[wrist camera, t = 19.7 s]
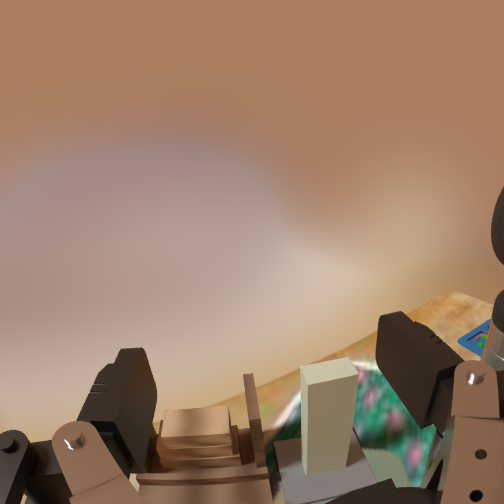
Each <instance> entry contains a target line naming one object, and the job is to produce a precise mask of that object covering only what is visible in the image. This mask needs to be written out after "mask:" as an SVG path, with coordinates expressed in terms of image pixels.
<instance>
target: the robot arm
mask: <svg viewBox="0 0 504 504" xmlns="http://www.w3.org/2000/svg"><path fill="white" fill-rule="evenodd" d="M491 238H492V239H491V240H492V245H493V249H494V252H495V254H496V256H497V258H498V259H499V261H500V262H501V263H502V264H503V265H504V187H503V189H502V191H501V193H500V195H499V197H498V200H497V202H496V205H495V209H494V213H493V218H492V225H491ZM376 362H377V365H378V368H379V369H380V371H381V372H382V374H383V375H384V377H385V378H386V379H387V381H388V382H389V384H390V385H391V387H392V388H393V389H394V391H395V392H396V394H397V395H398V397H399V398H400V399H401V401H402V402H403V404H404V405H405V407H406V408H407V410H408V411H409V412H410V414H411V415H412V417H413V418H414V420H415V421H416V423H417V424H418V426H419V427H420V429H422V428H424V427H427V426H429V425H432V424H434V426H435V427H436V429H435V431H434V434H433V439H432V444H431V449H430V453H429V458H428V462H427V466H426V470H425V474H424V477H423V480H422V483H421V485H420V488H419V487H399V488H396V487H395V485H394V483H393V481H392V479H391V478H390V479H387V480H385V481H382V482H378V483H375V484H372V485H369V486H366V487H362V488H359V489H356V490H352V491H350V492H348V493H346V494H344V495H342V496H340V497H338V498H336V499H334V500H332V501H330V502H328V503H326V504H504V290H503V291H501V293H500V294H498V296H497V298H496V300H495V303H494V308H493V312H492V317H491V321H490V326H489V330H488V334H487V338H486V342H485V346H484V349H483V353H482V356H481V360H480V361H476V360H470V361H464V360H463V359H462V358H461V357H460V356H459V355H458V354H457V353H456V352H455V351H453V350H452V349H451V348H450V347H449V346H448V345H447V344H446V343H445V342H443V340H442V339H440V338H439V337H438V336H436V334H435V333H434V332H433V331H432V330H431V329H429V328H428V327H427V326H425V325H422V324H420V323H418V322H416V321H415V322H413V321H412V320H411V319H410V318H409V317H408V316H406V315H405V314H404V313H403V312H402V311H398V312H394V313H390V314H385V315H382V316H380V318H379V322H378V333H377V343H376ZM156 403H157V389H156V384H155V381H154V378H153V375H152V372H151V369H150V365H149V362H148V359H147V356H146V353H145V351H144V349H143V348H129V349H128V348H127V349H121V350H120V351H119V353H118V356H117V358H116V360H115V362H114V364H108V365H106V366H105V367H104V368H103V369H102V370H101V371H100V372H99V373H98V375H97V377H96V379H95V382H94V385H93V386H92V388H91V390H90V393H89V394H88V397H87V399H86V401H85V403H84V405H83V407H82V410H81V412H80V414H79V416H78V418H77V420H76V421H74V422H70V423H67V424H65V425H63V426H62V427H60V428H59V429H58V430H57V431H56V432H55V434H54V436H53V438H52V440H48V441H41V442H33V443H30V441H29V440H28V438H27V437H26V435H25V434H24V433H22V432H21V431H17V430H10V431H6V432H3V433H2V434H0V504H20V503H21V500H22V497H23V494H25V495H26V496H27V498H26V501H25V504H146V503H145V502H144V500H143V499H142V498H141V496H140V495H139V494H138V492H137V491H136V490H135V488H134V487H133V485H132V484H131V483H130V481H129V478H130V473H135V474H143V470H144V465H145V459H146V453H147V448H148V443H149V438H150V432H151V427H152V422H153V417H154V412H155V408H156Z"/></svg>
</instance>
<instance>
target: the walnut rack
mask: <svg viewBox="0 0 504 504" xmlns="http://www.w3.org/2000/svg"><path fill="white" fill-rule="evenodd" d="M243 377H244V385H245V394H246V402H247V410H248V417H249V424H250V428H246V429H238V433H239V440H240V450H241V461H242V466H236V467H225V468H211V469H190V470H164V468H163V466H162V465H161V463H160V461H159V460H160V456H159V454H158V452H157V450H156V446H157V440H158V434H156V431H155V429H154V427H153V424H152V427H151V432H150V438H149V443H148V448H147V453H146V459H145V465H144V470H143V474H137V475H136V480H137V481H138V483H139V484H140V487H139V493H138V494H139V495H140V496H141V498H142V499H143V500H144V502H145V503H146V504H273V499H272V494H271V489H270V483H269V477H268V470H267V464H266V457H265V449H264V441H263V434H262V426H261V418H260V412H259V406H258V400H257V395H256V389H255V383H254V377H253V373H252V374H244V375H243Z"/></svg>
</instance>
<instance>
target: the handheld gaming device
mask: <svg viewBox="0 0 504 504" xmlns="http://www.w3.org/2000/svg"><path fill="white" fill-rule="evenodd" d="M490 321H491V319H490V320H487V321H486V322H484V323H483V324H481V325H480V326H478V327H477V328H475V329H474V330H472V331H471V332H469V333H467V334H466V335H464V336H463V337H461V338H459V339H458V341H457V342H458V343H459V344H460V345H462V346H464V347H466V348H467V349H469V350H471V351H472V352H474V353H476V354H477V355H479V356H482V353H483V349H484V346H485V342H486V338H487V334H488V330H489V326H490Z"/></svg>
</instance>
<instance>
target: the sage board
mask: <svg viewBox="0 0 504 504" xmlns="http://www.w3.org/2000/svg"><path fill="white" fill-rule="evenodd" d="M300 375H301V460H302V464H303V467H304V471H305V474H306V477H308V476H313V475H318V474H322V473H326V472H330V471H335V470H338V469H342V468H345V467H346V462H347V457H348V451H349V445H350V439H351V432H352V426H353V419H354V412H355V404H356V396H357V387H358V378H359V373H358V371H357V370H356V368H355V367H354V365H353V364H352V362H351V360H350V359H349V357H345V358H340V359H336V360H331V361H326V362H321V363H316V364H310V365H305V366H300Z"/></svg>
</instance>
